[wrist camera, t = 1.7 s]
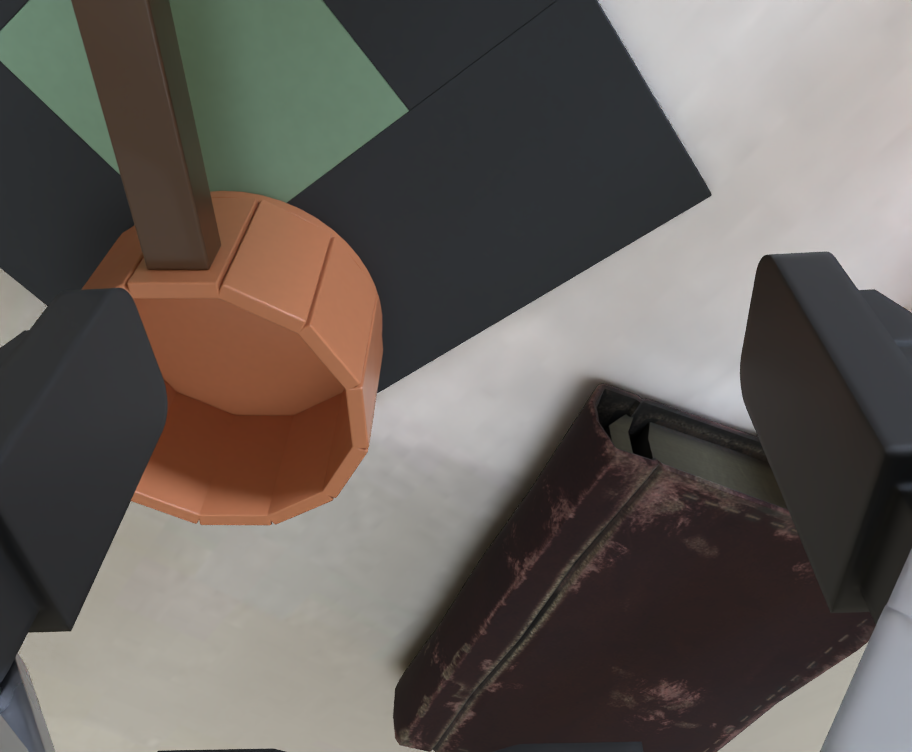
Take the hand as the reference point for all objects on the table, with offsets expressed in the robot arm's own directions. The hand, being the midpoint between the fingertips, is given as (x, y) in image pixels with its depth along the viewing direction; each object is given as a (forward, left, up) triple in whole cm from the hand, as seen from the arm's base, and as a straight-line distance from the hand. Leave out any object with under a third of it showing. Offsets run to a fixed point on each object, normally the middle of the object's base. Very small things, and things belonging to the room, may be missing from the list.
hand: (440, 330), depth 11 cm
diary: (+30, -11, -19) cm, 37 cm away
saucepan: (+1, -11, -19) cm, 22 cm away
